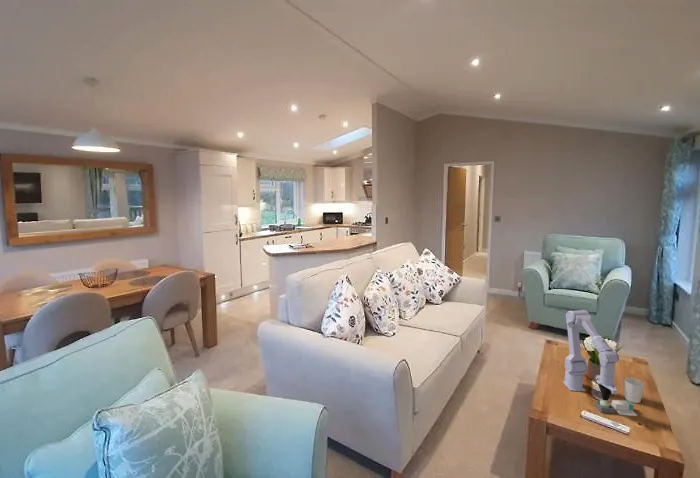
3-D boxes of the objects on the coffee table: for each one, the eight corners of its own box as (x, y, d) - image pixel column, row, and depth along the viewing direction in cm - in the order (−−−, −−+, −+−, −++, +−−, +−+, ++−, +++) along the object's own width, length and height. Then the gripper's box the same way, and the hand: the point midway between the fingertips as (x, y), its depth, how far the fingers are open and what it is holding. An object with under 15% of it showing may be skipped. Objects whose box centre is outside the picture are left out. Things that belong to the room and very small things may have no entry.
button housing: (594, 405, 183) (594, 400, 183) (607, 406, 183) (607, 401, 182) (601, 412, 178) (601, 407, 177) (614, 413, 177) (614, 408, 176)
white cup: (644, 405, 183) (646, 386, 182) (625, 401, 186) (626, 383, 185) (639, 397, 190) (641, 379, 189) (621, 393, 193) (622, 376, 192)
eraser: (615, 410, 179) (616, 404, 178) (611, 406, 182) (612, 400, 182) (632, 411, 178) (633, 405, 177) (628, 407, 181) (629, 400, 181)
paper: (610, 405, 183) (610, 405, 183) (627, 406, 182) (627, 406, 182) (620, 415, 175) (620, 414, 175) (637, 416, 174) (638, 415, 174)
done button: (597, 404, 182) (598, 399, 182) (606, 405, 182) (606, 399, 181) (602, 409, 178) (602, 404, 178) (611, 410, 178) (611, 404, 177)
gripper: (590, 366, 185) (588, 391, 187) (606, 381, 171) (604, 407, 173) (605, 367, 184) (603, 392, 186) (622, 382, 170) (620, 408, 172)
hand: (605, 399), depth 179 cm, fingers closed
